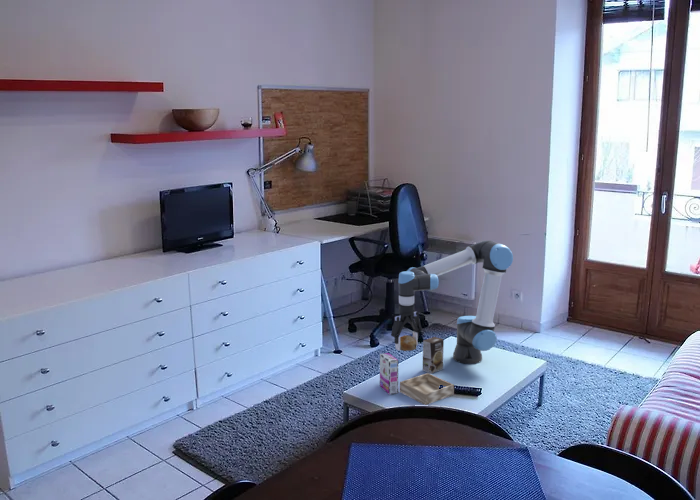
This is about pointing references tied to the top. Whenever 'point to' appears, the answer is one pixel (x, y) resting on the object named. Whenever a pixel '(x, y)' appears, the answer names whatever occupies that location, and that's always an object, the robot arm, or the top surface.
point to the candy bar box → (389, 373)
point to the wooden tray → (426, 388)
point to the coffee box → (433, 354)
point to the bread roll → (407, 343)
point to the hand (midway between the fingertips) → (406, 347)
